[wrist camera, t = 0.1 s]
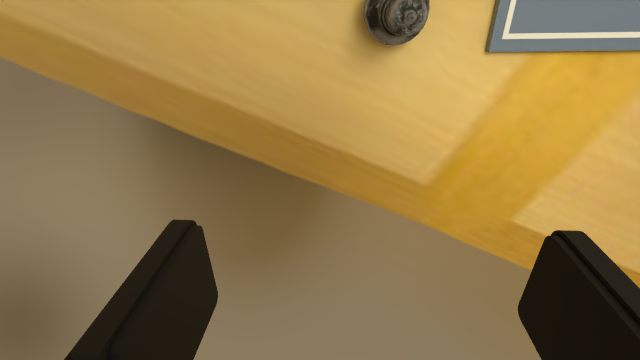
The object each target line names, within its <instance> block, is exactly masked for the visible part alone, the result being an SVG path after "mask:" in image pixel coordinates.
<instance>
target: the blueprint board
mask: <svg viewBox="0 0 640 360" xmlns="http://www.w3.org/2000/svg"><path fill="white" fill-rule="evenodd" d="M627 50H640V0H496V3H495V8H494V12H493V17H492V22H491V26H490V31H489V36H488V41H487V45H486V51H488V52H526V51H627Z"/></svg>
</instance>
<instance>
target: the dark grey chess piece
mask: <svg viewBox="0 0 640 360" xmlns="http://www.w3.org/2000/svg"><path fill="white" fill-rule="evenodd" d="M428 13H429V0H366V3H365V9H364V17H365V23H366V26H367V28H368V31H369V32H370V33H371V35H372V36H373V37H374V38H375V39H376V40H378V41H379V42H381V43H384V44H386V45H399V44H404V43H406V42H408V41H410V40H411V39H413V38H414V37H415V36H416V35H418V33H419V32H420V31H421V29H422V28H423V27H424V25H425V22H426V20H427V18H428Z"/></svg>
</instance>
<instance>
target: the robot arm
mask: <svg viewBox="0 0 640 360" xmlns="http://www.w3.org/2000/svg"><path fill="white" fill-rule="evenodd" d="M217 299H218V291H217V287H216V283H215V279H214V275H213V270H212V266H211V262H210V258H209V254H208V249H207V245H206V241H205V237H204V233H203V229H202V227H201V226H197V224H196V222H195V221H193V220H172V221H171V222H170V223H169V224H168V225H167V227H166V228H165V229H164V231H163V232H162V233H161V235H160V236H159V237H158V238H157V240H156V241H155V242H154V244H153V245H152V246H151V248H150V249H149V250H148V251H147V253H146V254H145V255H144V257H143V258H142V259H141V261H140V262H139V263H138V265H137V266H136V267H135V269H134V270H133V271H132V272H131V274H130V275H129V276H128V277H127V279H126V280H125V281H124V283H123V284H122V285H121V286H120V288H119V289H118V290H117V292H116V293H115V294H114V296H113V297H112V298H111V299H110V301H109V302H108V304H107V305H106V306H105V307H104V309H103V310H102V311H101V313H100V314H99V315H98V317H97V318H96V319H95V320H94V322H93V323H92V324H91V326H90V327H89V328H88V329H87V331H86V332H85V333H84V335H83V336H82V337H81V338H80V340H79V341H78V342H77V344H76V345H75V346H74V348H73V349H72V350H71V352H70V353H69V354H68V356H67V357H66V358H65V359H64V360H193V359H194V357H195V354H196V352H197V350H198V347H199V345H200V342H201V340H202V338H203V335H204V333H205V330H206V328H207V326H208V323H209V321H210V318H211V316H212V314H213V311H214V309H215V307H216V303H217ZM518 314H519V317H520V320H521V322H522V324H523V325H524V327H525V329H526V331H527V333H528V335H529V337H530V339H531V340H532V342H533V344H534V346H535V348H536V350H537V352H538V354H539V355H540V357H541V359H542V360H640V288H639V287H638V286H637V285H636V284H635V283H634V282H633V281H632V280H631V279H630V278H629V277H628V276H627V275H626V274H625V273H624V272H623V271H622V270H621V269H620V268H619V267H618V266H617V265H616V264H615V263H614V262H613V261H612V260H611V259H610V258H609V257H608V256H607V255H606V254H605V253H604V252H603V251H602V250H601V249H600V248H599V247H598V246H597V245H596V244H595V243H594V242H593V241H592V240H591V239H590V238H589V237H588V236H587V235H586V234H585V233H584V232H581V231H562V230H557V231H554V232H553V233H552V234H551V236H547V237H546V238H545V240H544V242H543V244H542V247H541V249H540V252H539V254H538V257H537V259H536V262H535V264H534V267H533V269H532V272H531V275H530V277H529V280H528V282H527V285H526V287H525V290H524V292H523V295H522V297H521V300H520V302H519V305H518Z"/></svg>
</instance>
